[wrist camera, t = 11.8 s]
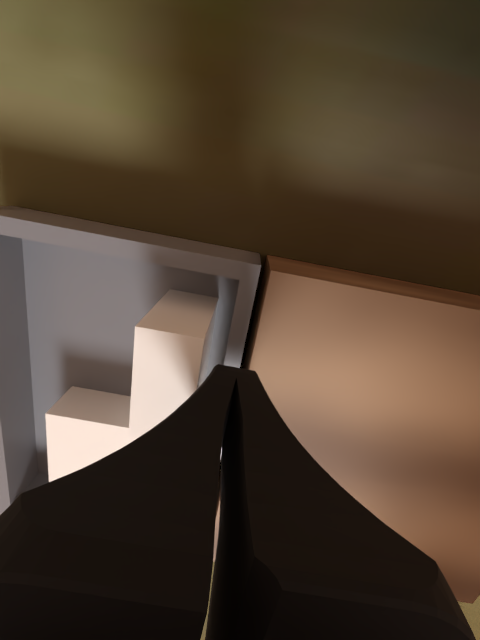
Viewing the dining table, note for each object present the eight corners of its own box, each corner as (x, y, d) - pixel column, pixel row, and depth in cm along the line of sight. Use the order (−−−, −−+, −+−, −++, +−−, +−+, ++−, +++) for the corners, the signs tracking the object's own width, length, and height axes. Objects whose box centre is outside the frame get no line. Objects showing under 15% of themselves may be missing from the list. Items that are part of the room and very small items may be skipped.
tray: (209, 501, 17) (202, 548, 15) (33, 472, 17) (-1, 514, 15) (259, 253, 12) (261, 265, 10) (13, 206, 12) (-44, 207, 10)
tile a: (49, 485, 14) (72, 452, 16) (137, 500, 14) (150, 465, 16) (45, 413, 13) (71, 385, 14) (143, 430, 13) (157, 401, 15)
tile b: (188, 446, 10) (128, 436, 10) (205, 381, 14) (161, 373, 14) (204, 338, 9) (135, 326, 9) (218, 298, 13) (169, 289, 13)
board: (438, 540, 18) (472, 603, 15) (214, 502, 18) (206, 560, 15) (577, 314, 13) (667, 346, 10) (267, 254, 12) (271, 270, 10)
